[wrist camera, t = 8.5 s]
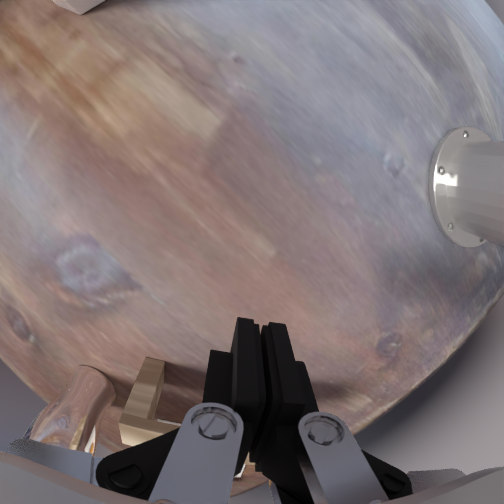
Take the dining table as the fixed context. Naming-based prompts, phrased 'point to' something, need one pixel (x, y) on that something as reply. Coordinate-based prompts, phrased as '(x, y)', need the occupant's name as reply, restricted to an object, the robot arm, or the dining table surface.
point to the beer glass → (75, 412)
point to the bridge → (146, 407)
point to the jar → (78, 5)
